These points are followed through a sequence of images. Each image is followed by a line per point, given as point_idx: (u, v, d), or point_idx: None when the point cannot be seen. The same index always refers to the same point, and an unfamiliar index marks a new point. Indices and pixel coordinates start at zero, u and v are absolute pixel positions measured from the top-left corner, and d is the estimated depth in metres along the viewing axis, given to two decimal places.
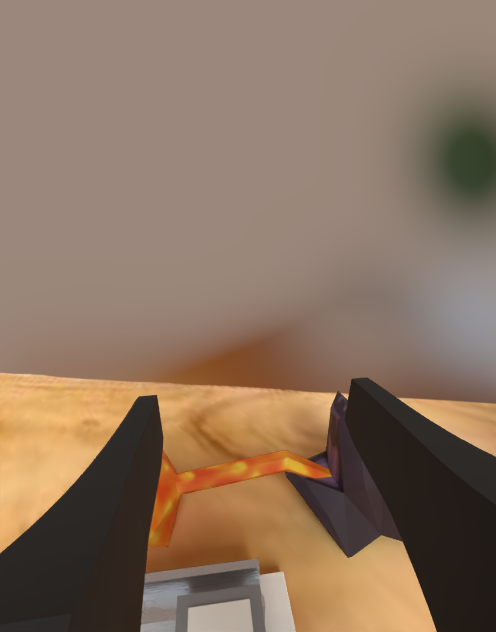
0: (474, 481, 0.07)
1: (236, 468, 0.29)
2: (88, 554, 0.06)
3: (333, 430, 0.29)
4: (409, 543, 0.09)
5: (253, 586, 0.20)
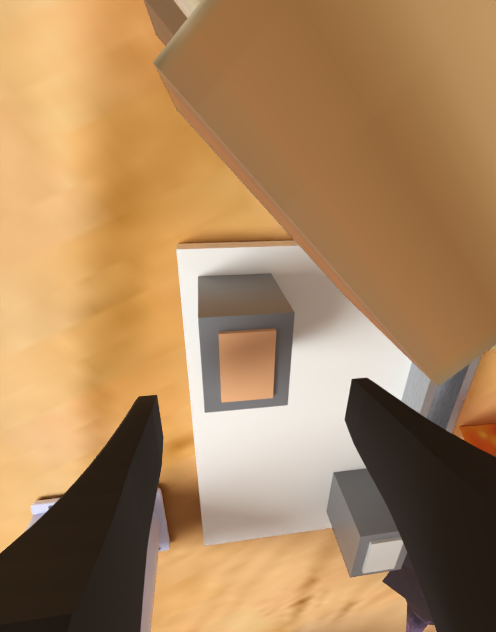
0: (474, 481, 0.07)
1: None
2: (88, 554, 0.06)
3: None
4: (409, 543, 0.09)
5: (400, 566, 0.25)
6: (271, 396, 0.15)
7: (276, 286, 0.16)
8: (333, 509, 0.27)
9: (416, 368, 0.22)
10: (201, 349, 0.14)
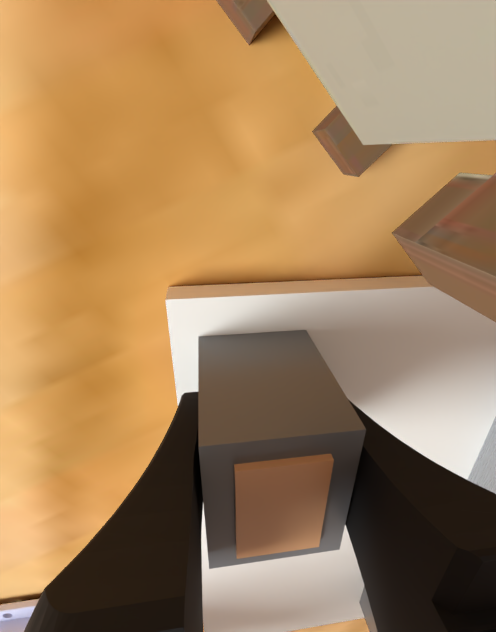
0: (408, 489, 0.07)
1: None
2: (178, 542, 0.06)
3: None
4: (358, 551, 0.09)
5: None
6: (316, 545, 0.10)
7: (320, 359, 0.11)
8: (370, 607, 0.21)
9: (495, 445, 0.16)
10: (204, 490, 0.08)
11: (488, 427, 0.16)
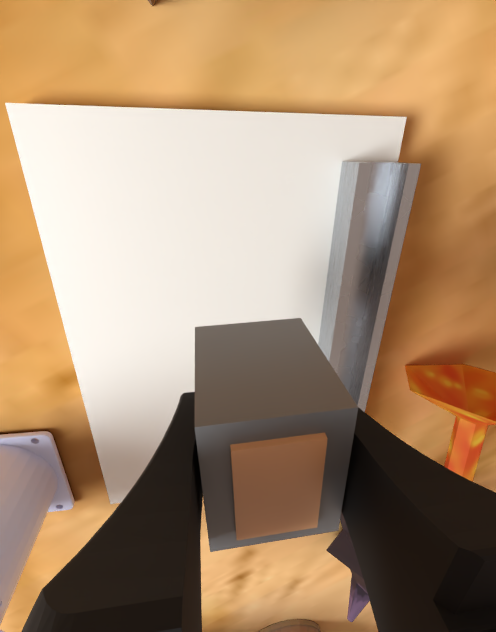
0: (410, 489, 0.07)
1: None
2: (177, 542, 0.06)
3: None
4: (359, 551, 0.09)
5: None
6: (315, 525, 0.10)
7: (314, 345, 0.11)
8: None
9: (330, 284, 0.19)
10: (202, 471, 0.08)
11: (325, 270, 0.19)
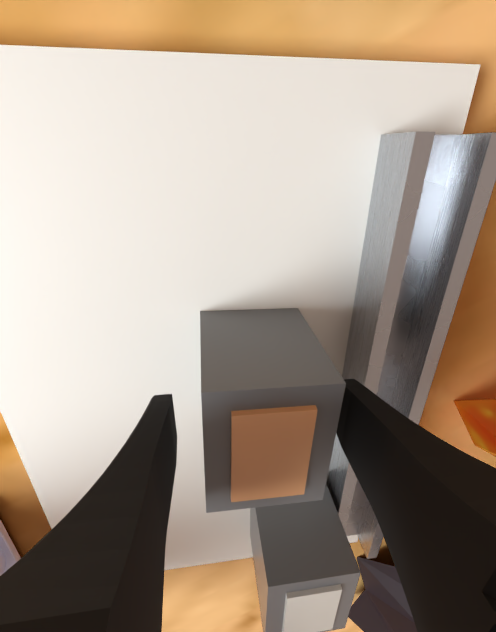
0: (453, 484, 0.07)
1: None
2: (119, 550, 0.06)
3: None
4: (392, 546, 0.09)
5: (343, 624, 0.16)
6: (302, 492, 0.11)
7: (309, 331, 0.12)
8: (252, 534, 0.18)
9: (359, 312, 0.13)
10: (204, 434, 0.09)
11: (352, 292, 0.14)
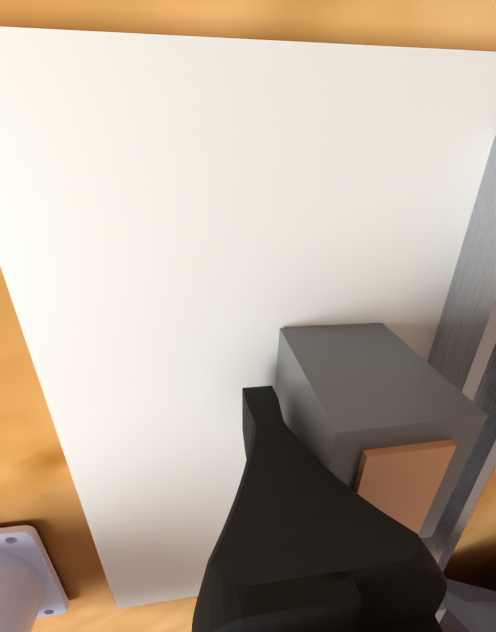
0: (292, 504, 0.07)
1: None
2: (314, 523, 0.06)
3: None
4: None
5: None
6: (417, 531, 0.10)
7: (410, 350, 0.11)
8: None
9: (449, 328, 0.12)
10: None
11: (441, 306, 0.13)
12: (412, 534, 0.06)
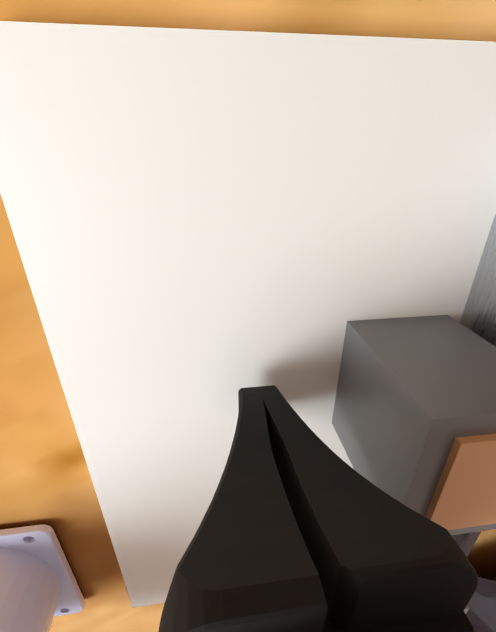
0: (319, 501, 0.07)
1: None
2: (288, 527, 0.06)
3: None
4: None
5: None
6: None
7: (484, 341, 0.11)
8: None
9: (472, 325, 0.12)
10: (419, 463, 0.08)
11: (463, 303, 0.12)
12: (442, 530, 0.06)
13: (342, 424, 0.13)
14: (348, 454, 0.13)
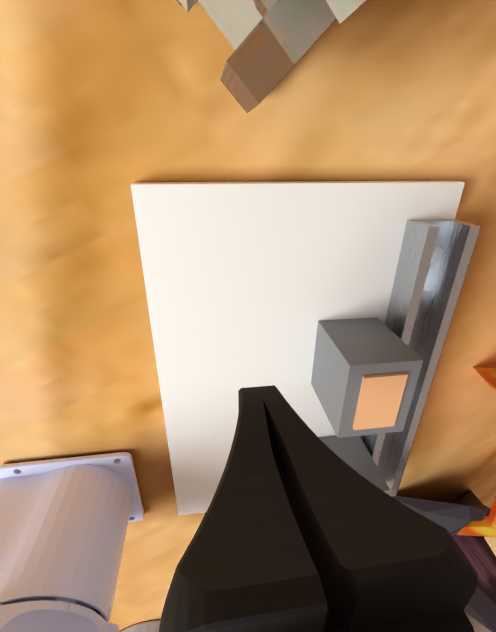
0: (319, 501, 0.07)
1: None
2: (288, 526, 0.06)
3: None
4: None
5: None
6: (393, 424, 0.19)
7: (391, 332, 0.20)
8: None
9: (390, 323, 0.21)
10: (346, 389, 0.17)
11: (386, 310, 0.21)
12: (442, 530, 0.06)
13: (316, 382, 0.22)
14: (319, 399, 0.22)
